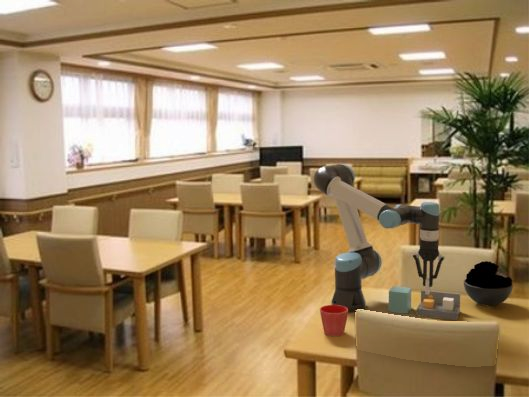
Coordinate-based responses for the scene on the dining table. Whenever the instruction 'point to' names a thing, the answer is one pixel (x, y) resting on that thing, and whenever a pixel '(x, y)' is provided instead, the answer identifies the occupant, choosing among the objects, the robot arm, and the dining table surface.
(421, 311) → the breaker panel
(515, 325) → the dining table surface
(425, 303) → the tagged button
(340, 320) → the flower pot
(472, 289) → the bowl of black rocks
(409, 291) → the cover
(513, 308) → the dining table surface
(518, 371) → the dining table surface
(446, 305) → the plain button
